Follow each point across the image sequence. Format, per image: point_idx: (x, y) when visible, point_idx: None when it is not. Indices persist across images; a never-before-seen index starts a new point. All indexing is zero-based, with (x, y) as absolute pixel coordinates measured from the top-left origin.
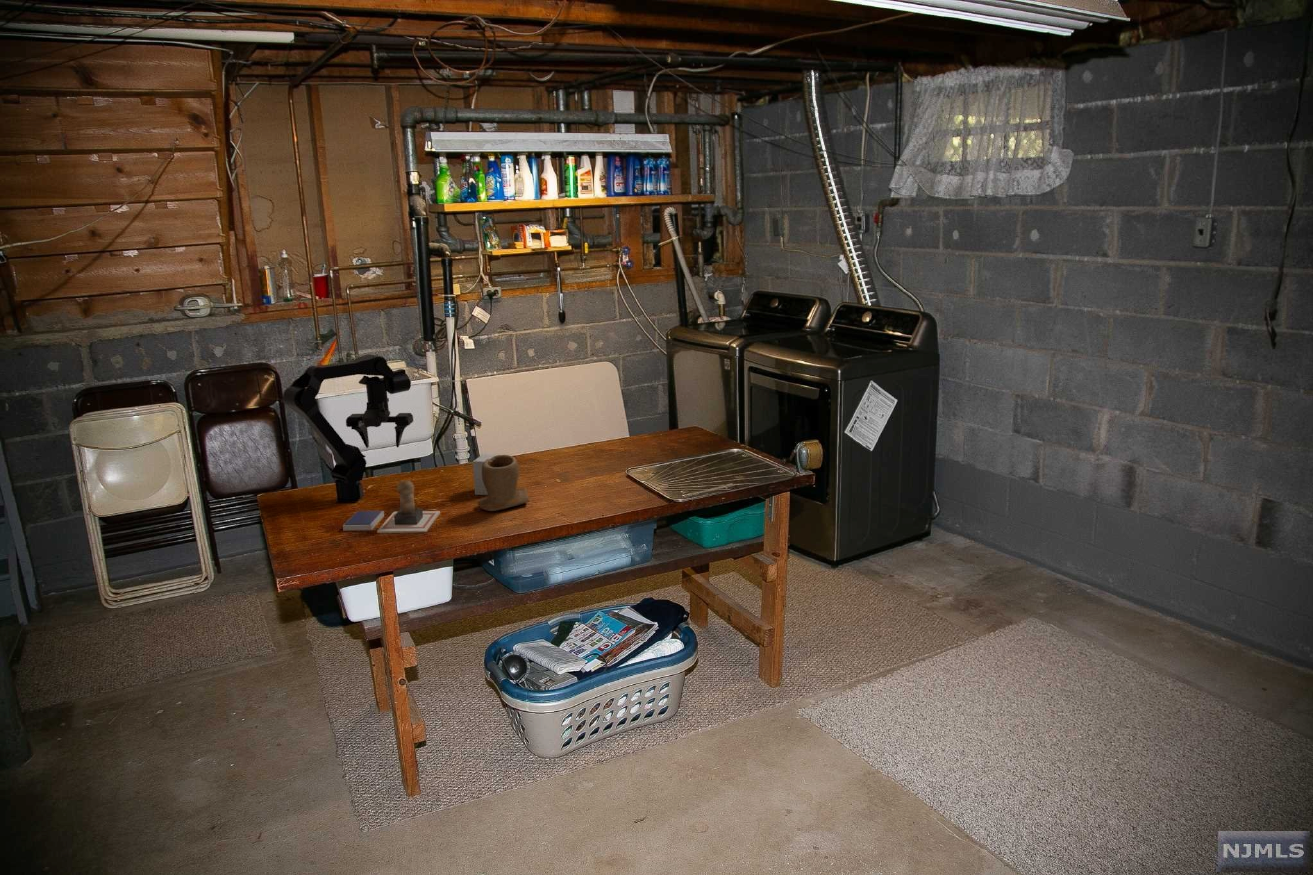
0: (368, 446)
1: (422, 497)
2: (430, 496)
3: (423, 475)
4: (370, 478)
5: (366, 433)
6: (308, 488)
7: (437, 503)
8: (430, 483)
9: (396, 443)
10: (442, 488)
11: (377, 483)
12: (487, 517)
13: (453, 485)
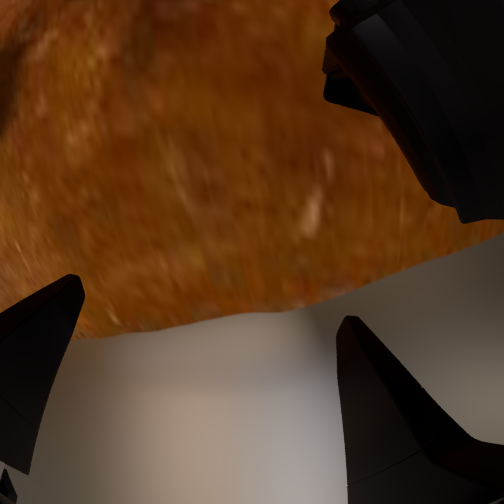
0: (338, 336)
1: (83, 63)
2: (63, 76)
3: (146, 294)
4: (315, 299)
5: (362, 451)
6: (477, 242)
7: (43, 21)
8: (95, 213)
9: (53, 292)
10: (49, 158)
11: (287, 246)
12: None
13: (34, 186)
